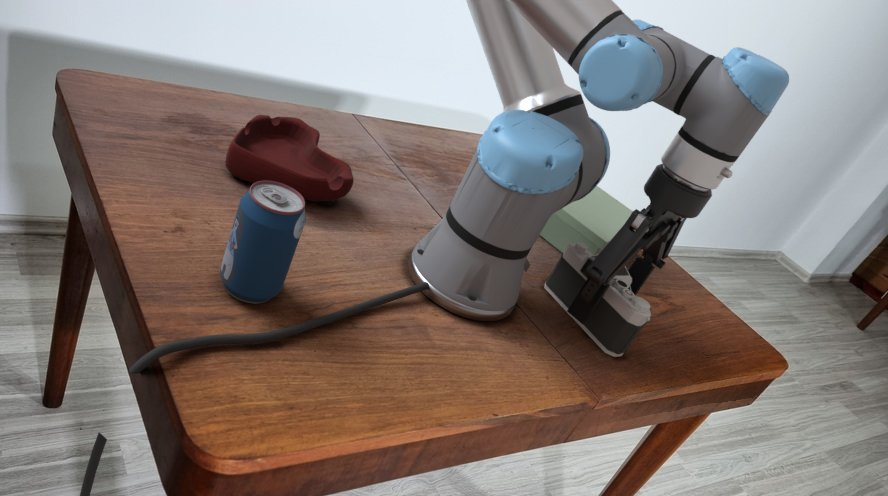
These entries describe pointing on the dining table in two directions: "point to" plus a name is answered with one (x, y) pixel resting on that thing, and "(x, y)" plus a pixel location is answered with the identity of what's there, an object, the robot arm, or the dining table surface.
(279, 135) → the ashtray
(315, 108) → the dining table surface
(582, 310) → the robot arm
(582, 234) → the shelf
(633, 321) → the camera
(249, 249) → the soda can
